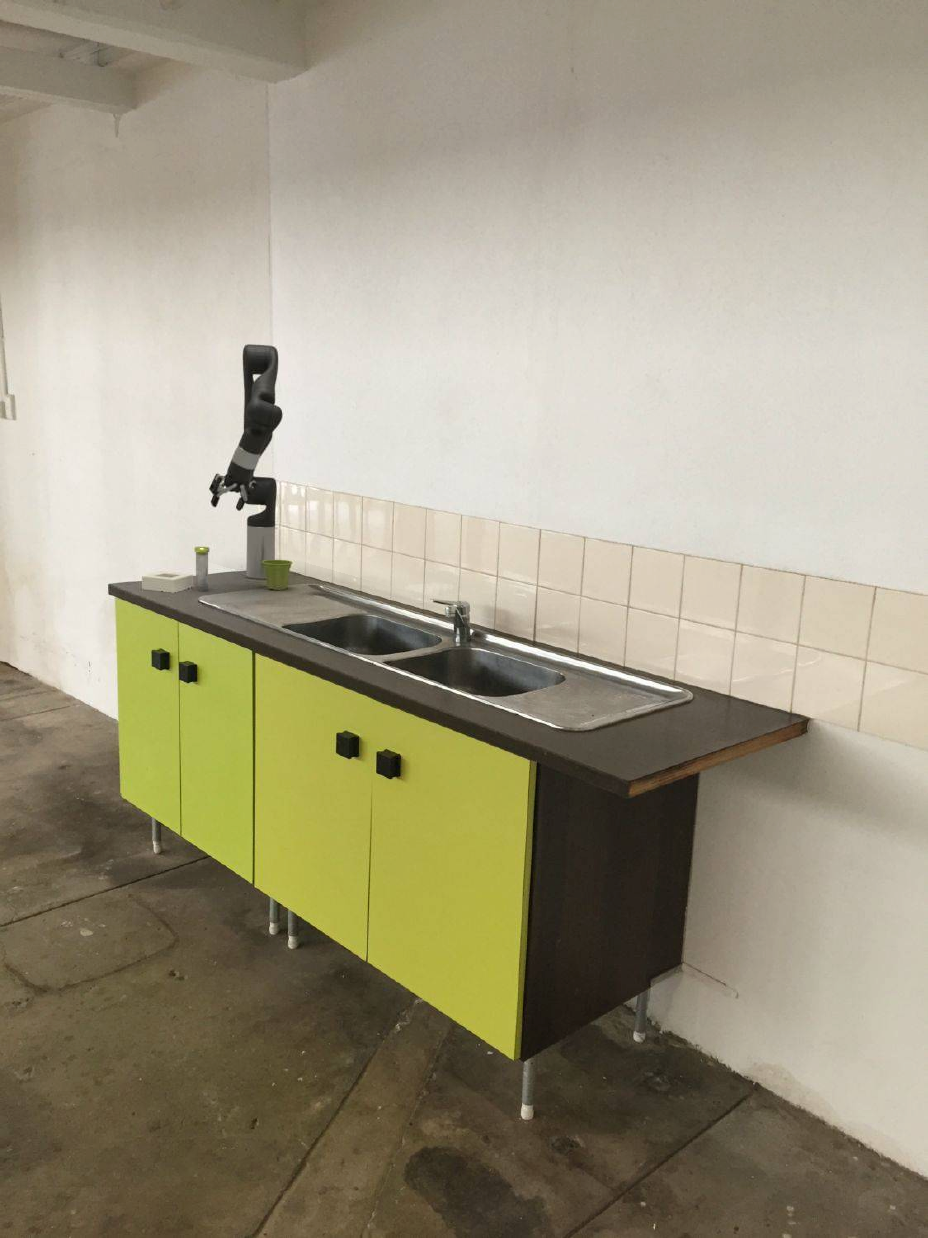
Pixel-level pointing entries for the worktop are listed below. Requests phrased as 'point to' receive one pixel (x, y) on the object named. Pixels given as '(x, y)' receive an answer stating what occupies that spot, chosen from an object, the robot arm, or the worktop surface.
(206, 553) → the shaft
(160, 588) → the white square base
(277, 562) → the plant pot
